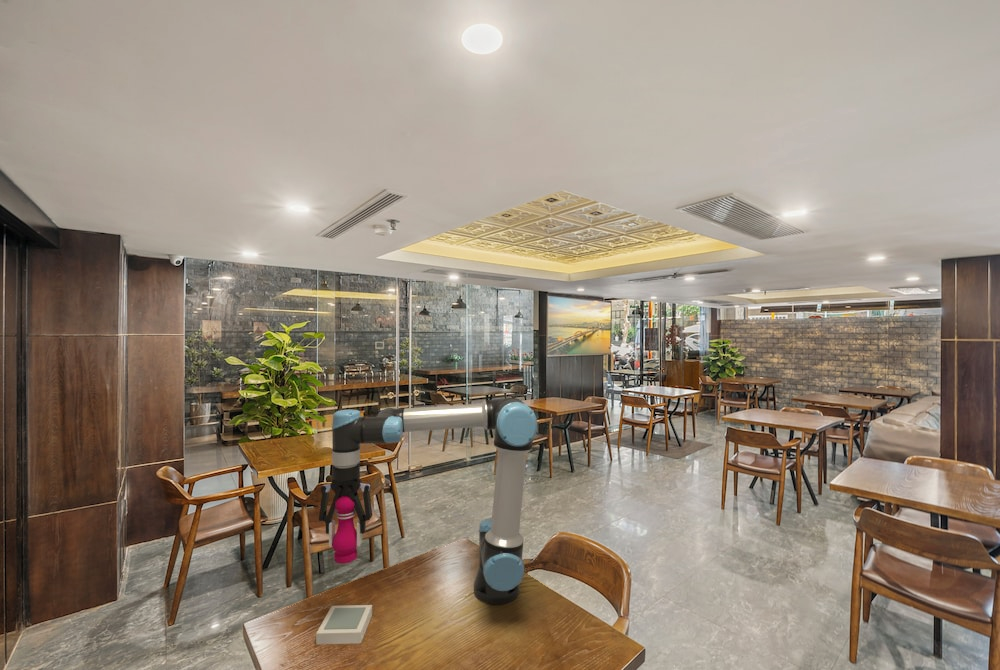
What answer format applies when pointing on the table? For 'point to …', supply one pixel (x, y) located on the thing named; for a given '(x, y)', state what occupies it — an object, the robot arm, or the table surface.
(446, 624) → the table surface
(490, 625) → the table surface
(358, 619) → the base
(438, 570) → the table surface
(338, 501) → the pepper mill
